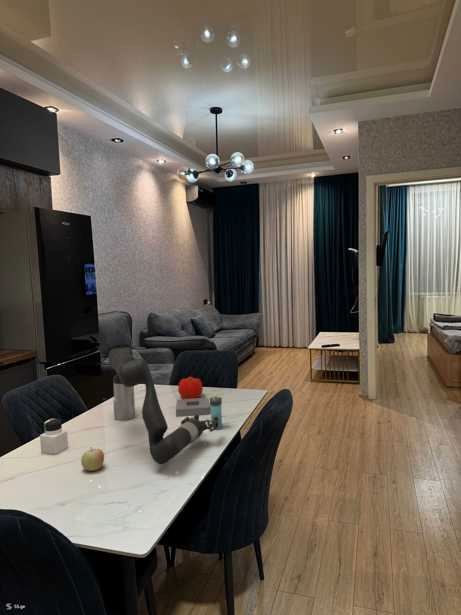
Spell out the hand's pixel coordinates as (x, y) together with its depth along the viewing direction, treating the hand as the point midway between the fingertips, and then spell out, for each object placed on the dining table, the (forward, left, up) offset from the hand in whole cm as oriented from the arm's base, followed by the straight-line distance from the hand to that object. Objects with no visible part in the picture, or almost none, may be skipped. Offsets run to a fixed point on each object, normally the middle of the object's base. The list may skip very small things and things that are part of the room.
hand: (207, 417), depth 173 cm
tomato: (-7, +56, -8) cm, 57 cm away
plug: (+4, +8, -7) cm, 11 cm away
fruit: (-41, -23, -8) cm, 48 cm away
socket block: (-6, +34, -7) cm, 35 cm away
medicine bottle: (-60, -4, -8) cm, 61 cm away
